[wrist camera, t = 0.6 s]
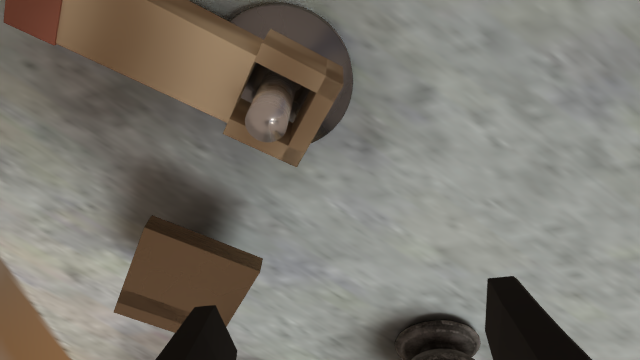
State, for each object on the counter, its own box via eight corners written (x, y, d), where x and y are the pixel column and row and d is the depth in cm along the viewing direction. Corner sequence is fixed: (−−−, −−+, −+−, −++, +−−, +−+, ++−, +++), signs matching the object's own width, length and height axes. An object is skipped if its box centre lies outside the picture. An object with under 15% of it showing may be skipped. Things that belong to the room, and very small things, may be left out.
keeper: (180, 170, 20) (144, 227, 16) (273, 209, 21) (259, 271, 17) (149, 248, 23) (113, 312, 19) (233, 279, 24) (214, 345, 20)
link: (342, 66, 16) (343, 86, 14) (300, 142, 18) (296, 168, 16) (57, -85, 14) (12, -86, 12) (42, 21, 15) (2, 34, 14)
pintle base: (241, -28, 15) (209, -11, 11) (379, 48, 17) (392, 87, 13) (192, 106, 18) (154, 155, 14) (312, 162, 19) (306, 220, 16)
